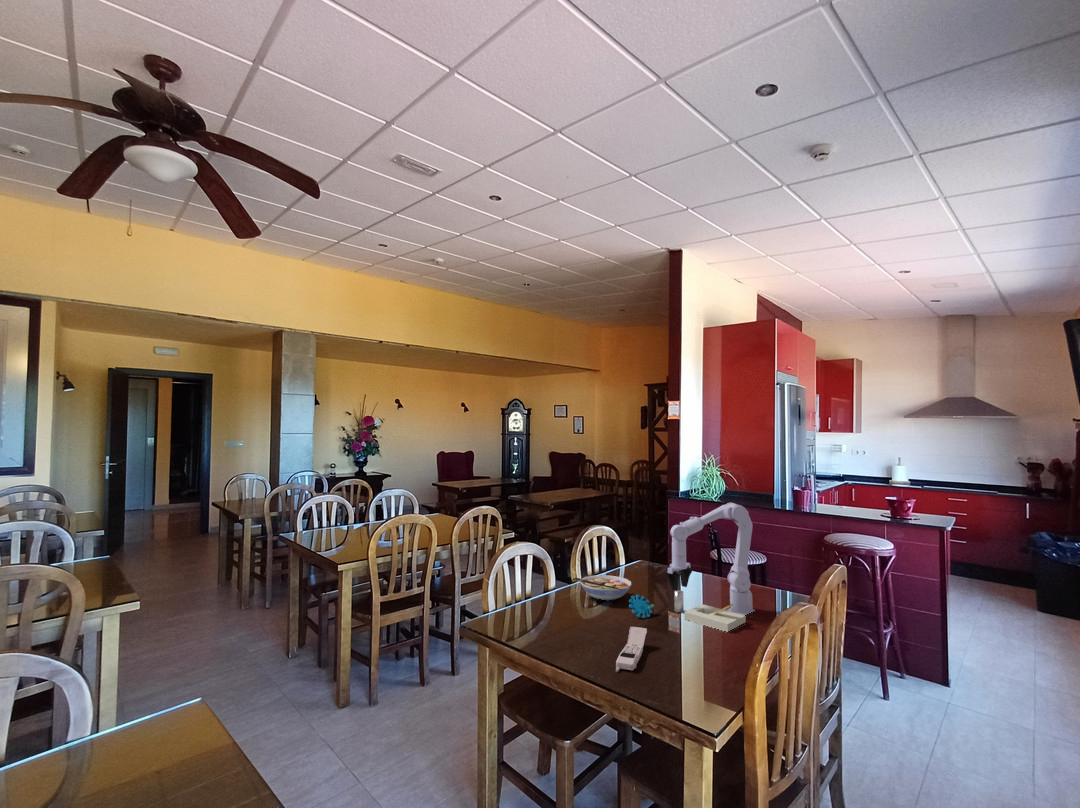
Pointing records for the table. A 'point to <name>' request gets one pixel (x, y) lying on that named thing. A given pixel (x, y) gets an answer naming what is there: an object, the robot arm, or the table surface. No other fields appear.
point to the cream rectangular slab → (715, 617)
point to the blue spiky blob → (640, 606)
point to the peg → (679, 601)
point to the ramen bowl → (605, 586)
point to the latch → (723, 609)
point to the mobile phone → (632, 649)
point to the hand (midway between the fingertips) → (679, 588)
